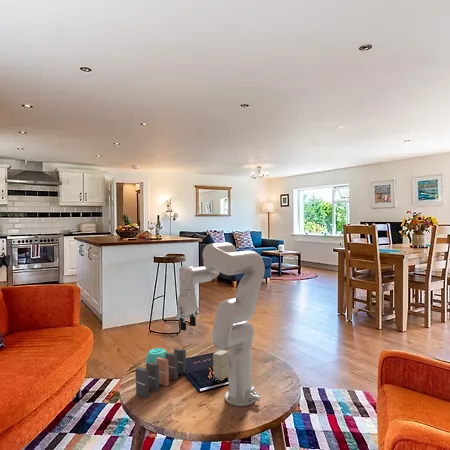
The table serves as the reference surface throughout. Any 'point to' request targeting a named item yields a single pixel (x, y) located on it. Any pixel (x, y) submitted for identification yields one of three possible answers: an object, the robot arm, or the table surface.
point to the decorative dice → (155, 355)
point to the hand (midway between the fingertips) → (188, 327)
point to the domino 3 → (163, 371)
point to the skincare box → (220, 364)
